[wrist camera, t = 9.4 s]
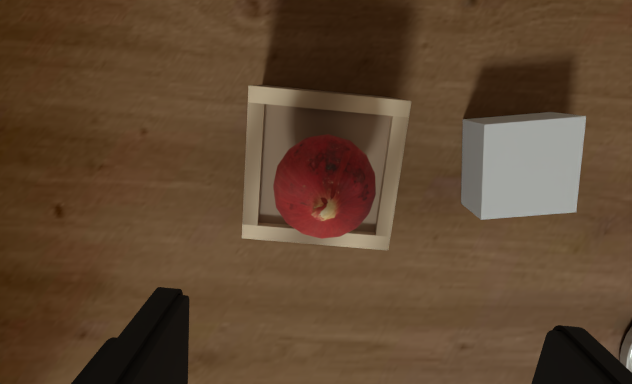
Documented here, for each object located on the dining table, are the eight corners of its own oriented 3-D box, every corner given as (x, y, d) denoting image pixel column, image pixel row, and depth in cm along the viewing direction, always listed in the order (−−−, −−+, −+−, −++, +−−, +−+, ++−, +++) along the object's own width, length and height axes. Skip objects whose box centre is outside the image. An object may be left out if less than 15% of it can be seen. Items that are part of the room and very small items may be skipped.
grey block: (551, 112, 31) (586, 116, 27) (544, 196, 33) (575, 212, 29) (462, 119, 31) (484, 124, 27) (461, 203, 33) (481, 219, 29)
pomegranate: (290, 117, 25) (282, 133, 17) (377, 141, 25) (406, 166, 18) (270, 202, 26) (253, 251, 19) (352, 222, 27) (368, 279, 19)
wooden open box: (390, 97, 30) (411, 101, 24) (373, 217, 33) (388, 250, 27) (262, 84, 30) (248, 85, 24) (255, 207, 33) (241, 238, 26)
